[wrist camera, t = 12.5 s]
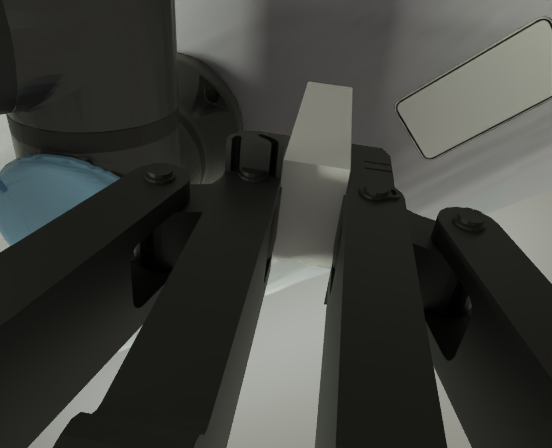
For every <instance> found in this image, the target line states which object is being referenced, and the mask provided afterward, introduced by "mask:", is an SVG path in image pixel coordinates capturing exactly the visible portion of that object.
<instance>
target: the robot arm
mask: <svg viewBox="0 0 552 448" xmlns="http://www.w3.org/2000/svg"><path fill="white" fill-rule="evenodd" d="M352 92H353V88H352V87H345V86H338V85H330V84H323V83H316V82H309V81H308V84H307V87H306V90H305V93H304V96H303V100H302V103H301V106H300V109H299V112H298V115H297V119H296V122H295V125H294V128H293V131H292V135H291V136H285V135H278V134H271V133H264V132H256V131H243V123H242V117H241V113H240V109H239V106H238V104H237V101H236V99H235V97H234V95H233V93H232V92H231V90H230V89H229V87H228V86H227V84H226V83H225V82H224V81H223V80H222V79H221V77H220V76H219V75H218V74H216V73H215V72H214V71H213V70H212V69H211V68H209V67H208V66H206V65H205V64H203V63H202V62H200V61H198V60H196V59H194V58H191V57H189V56H186V55H183V54H179V53H177V41H176V18H175V0H0V114H6V115H7V119H8V123H9V128H10V132H11V137H12V141H13V145H14V150H15V154H16V159H15V160H13V161H11V162H10V163H8V164H7V165H6V166H5V167H4V168H3V169H2V170H1V173H0V233H1V234H2V236H3V237H4V239H5V240H6V241H7V243H8V244H9V245H10V247H8V248H7V249H5V250H4V251H2V252H0V448H28V446H29V445H30V444H31V443H32V442H33V441H34V440H35V439H36V438H37V437H38V436H39V435H40V433H41V432H42V431H43V430H44V429H45V428H46V427H47V426H48V425H49V424H50V423H51V422H52V421H53V420H54V419H55V418H56V417H57V415H58V414H59V413H60V412H61V411H62V410H63V409H64V408H65V407H66V406H67V405H68V403H70V402H71V401H72V399H73V398H74V397H75V396H76V395H77V394H78V393H79V392H80V391H81V390H82V389H83V388H84V387H85V385H87V383H88V382H89V381H90V380H91V379H92V378H93V377H94V376H95V375H96V374H97V373H98V372H99V371H100V369H102V367H103V366H104V365H105V364H106V363H107V362H108V361H109V360H110V359H111V358H112V357H113V356H114V355H115V354H116V352H117V351H118V350H119V349H120V348H121V347H122V346H123V345H124V344H125V343H126V342H127V341H128V340H129V339H130V338H131V336H132V335H133V334H134V333H135V332H136V331H137V330H138V329H139V328H140V327H141V326H142V325H143V326H142V328H141V329H140V331H139V333H138V335H137V337H136V339H135V341H134V343H133V344H132V346H131V348H130V350H129V352H128V354H127V356H126V358H125V360H124V361H123V364H122V365H121V367H120V369H119V371H118V373H117V375H116V376H115V378H114V380H113V382H112V384H111V386H110V388H109V390H108V392H107V393H106V395H105V397H104V399H103V401H102V403H101V404H100V406H99V407H98V409H97V410H96V411H95V412H93V413H92V414H89V413H84V412H80V413H79V414H77V415H76V416H75V417H73V418H72V419H71V420H70V422H69V423H68V424H67V426H66V427H65V429H64V430H63V432H62V433H61V434H60V436H59V438H58V440H57V441H56V443H55V445H54V447H53V448H226V447H227V443H228V438H229V435H230V431H231V426H232V422H233V418H234V414H235V410H236V406H237V402H238V398H239V394H240V390H241V386H242V382H243V378H244V374H245V370H246V366H247V362H248V358H249V353H250V349H251V346H252V341H253V338H254V333H255V329H256V325H257V321H258V317H259V313H260V309H261V305H262V301H263V297H264V293H265V289H266V285H267V281H268V277H269V273H270V267H271V259H277V260H283V261H289V262H295V263H301V264H307V265H313V266H319V267H325V268H331V272H330V277H329V282H328V287H327V292H326V297H325V302H324V304H327V309H326V321H325V333H324V345H323V358H322V369H321V381H320V393H319V405H318V417H317V429H316V440H315V448H447V443H446V438H445V432H444V426H443V420H442V414H441V408H440V402H439V396H438V391H437V385H436V379H435V373H434V368H435V370H436V372H437V374H438V376H439V378H440V380H441V383H442V385H443V387H444V389H445V391H446V393H447V395H448V398H449V400H450V402H451V404H452V406H453V408H454V410H455V412H456V415H457V417H458V419H459V421H460V423H461V425H462V427H463V429H464V431H465V434H466V436H467V438H468V440H469V442H470V444H471V447H472V448H552V284H551V283H550V282H549V281H548V279H547V278H546V277H545V276H544V275H543V274H542V273H541V272H540V270H539V269H538V268H537V267H536V266H535V265H534V264H533V263H532V261H531V260H530V259H529V258H528V257H527V256H526V255H525V254H524V252H523V251H522V250H521V249H520V248H519V247H518V246H517V245H516V244H515V242H514V241H513V240H512V239H511V238H510V237H509V236H508V234H507V233H506V232H505V231H504V230H503V229H502V228H501V227H500V225H499V224H498V223H496V222H495V221H494V220H493V219H492V218H490V217H488V216H486V215H484V214H482V213H481V212H480V211H477V210H475V209H474V210H473V209H471V208H460V207H450V208H445V209H443V210H441V211H440V212H439V214H438V216H437V219H436V221H435V220H432V219H429V218H425V217H422V216H420V215H417V214H415V213H413V212H411V211H409V210H407V209H406V203H405V198H404V196H403V194H402V193H401V192H400V191H398V190H397V189H396V188H395V186H394V179H393V173H392V166H391V159H390V156H389V155H388V154H387V153H386V152H385V151H384V150H383V149H382V148H376V147H369V146H362V145H355V144H351V131H352ZM272 252H273V254H272ZM331 266H332V267H331ZM433 366H434V367H433Z"/></svg>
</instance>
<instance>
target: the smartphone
mask: <svg viewBox="0 0 552 448" xmlns="http://www.w3.org/2000/svg"><path fill="white" fill-rule="evenodd" d="M550 99H552V21H551V20H550V19H549V18H547V17H539V18H537V19H535V20H533V21H531V22H530V23H528V24H526V25H525V26H523V27H522V28H520V29H518V30H516V31H514V32H513V33H510V34H509V35H507V36H505V37H504V38H502V39H500V40H499V41H497V42H495V43H493V44H492V45H490V46H488V47H487V48H486V49H484V50H482V51H481V52H479V53H477V54H476V55H474V56H472V57H471V58H469V59H467V60H465V61H464V62H462V63H460V64H459V65H457V66H455V67H454V68H452V69H450V70H449V71H447V72H445V73H443V74H442V75H440V76H438V77H437V78H435V79H433V80H432V81H430V82H428V83H427V84H425V85H423V86H421V87H420V88H418V89H416V90H415V91H413V92H411V93H410V94H408V95H406V96H405V97H403V98H401V99H400V100H398V101H397V103H396V105H395V111H396V114H397V115H398V117H399V119H400V121H401V122H402V124H403V126H404V127H405V129H406V131H407V132H408V134H409V136H410V137H411V139H412V141H413V142H414V144H415V146H416V147H417V149H418V151H419V152H420V154H421V156H422V157H423V158H424V159H426V160H433V159H435V158H437V157H439V156H441V155H443V154H445V153H447V152H449V151H451V150H453V149H455V148H457V147H459V146H461V145H463V144H465V143H466V142H468V141H470V140H472V139H474V138H476V137H478V136H480V135H482V134H484V133H486V132H488V131H490V130H492V129H494V128H496V127H497V126H499V125H501V124H503V123H505V122H507V121H509V120H511V119H513V118H515V117H517V116H519V115H521V114H523V113H525V112H526V111H528V110H530V109H532V108H534V107H536V106H538V105H540V104H542V103H544V102H546V101H548V100H550Z"/></svg>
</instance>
